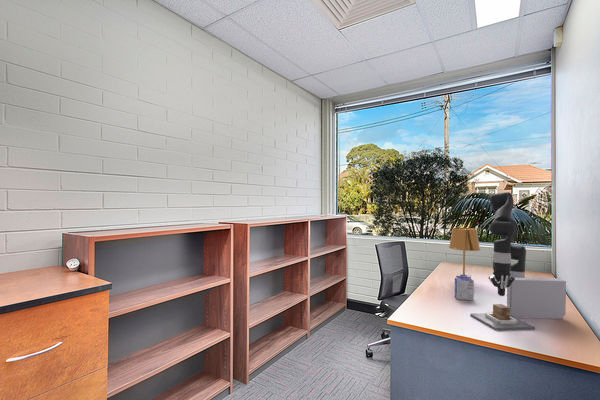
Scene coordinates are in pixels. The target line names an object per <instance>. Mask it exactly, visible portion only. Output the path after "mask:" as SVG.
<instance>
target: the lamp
mask: <svg viewBox="0 0 600 400" xmlns="http://www.w3.org/2000/svg"><path fill="white" fill-rule="evenodd" d="M448 249H452V250H456V251H462V273H459V272H457V273H456V275H455V276H456V277H455V278H461V277H465V276H461V277H460V275H466V276H467V279H472V274H469V273H468V274H466V273H465V272H466V252H467V251H468V252H479V251H481V247H480V241H479V235H478V230H477V228H472V227H452V231H451V235H450V240H449V246H448Z"/></svg>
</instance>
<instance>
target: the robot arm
mask: <svg viewBox="0 0 600 400" xmlns="http://www.w3.org/2000/svg"><path fill="white" fill-rule="evenodd" d="M514 201H515V200H514V197H513V194H512V193H511V192H509V191H505V192H504V191H503V192H498V193H492V194H491V195H490V197H489V203H490V205H491V208H492V211H493V214H494V219H493V220H492V222H491V223H490V226H489V231H490V233H491V234H492V235H494V236H500V238H501V239H496V240H494V241H493V255H492V269H493V272H492V275H491V276H488V279H489V281H490V282H491V283H492V285H493V286H494V287H496V288H497V294H498V296H500V297H505V295H506V290H507V287H509V286H510V285H511V284H512V282H513V281H514V280H515V278H526V257H527V250H526V249H527V248H526V247H525V246H523V245H518V244H517V245H516V244H512V241H513V239H515V237H516V236H517V234H518V228H517V224H516V221H515V220H514V218H512V216H511V213H512V211H513V209H514V204H515V203H514ZM512 260H514V261H515V260H516V261H517V262H516V263H512Z"/></svg>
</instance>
